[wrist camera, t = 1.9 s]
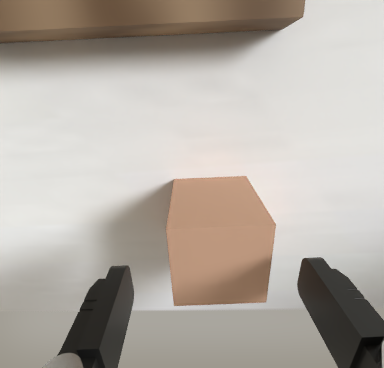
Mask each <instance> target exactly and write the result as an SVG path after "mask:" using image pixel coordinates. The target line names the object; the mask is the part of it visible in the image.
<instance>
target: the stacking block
mask: <svg viewBox="0 0 384 368" xmlns="http://www.w3.org/2000/svg"><path fill="white" fill-rule="evenodd" d="M275 228H276V224H275V222H274V221H273V219H272V217H271V216H270V214H269V213H268V211H267V209H266V208H265V206H264V204H263V203H262V201H261V200H260V198H259V196H258V195H257V193H256V192H255V190H254V188H253V187H252V185H251V183H250V182H249V180H248V179H247V177H246V176H237V177H214V178H190V179H174V182H173V189H172V195H171V201H170V207H169V213H168V220H167V226H166V234H167V243H168V253H169V263H170V272H171V282H172V291H173V301H174V306H186V305H211V304H237V303H262V302H266V299H267V291H268V283H269V276H270V268H271V260H272V252H273V244H274V236H275Z"/></svg>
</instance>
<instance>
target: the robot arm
mask: <svg viewBox="0 0 384 368" xmlns="http://www.w3.org/2000/svg"><path fill="white" fill-rule="evenodd" d="M297 285H298V292H299V295H300V297H301V299H302V301H303V303H304V305H305V306H306V308H307V310H308V312H309V314H310V316H311V318H312V319H313V321H314V323H315V325H316V327H317V329H318V331H319V333H320V334H321V336H322V338H323V340H324V342H325V344H326V346H327V347H328V349H329V351H330V353H331V355H332V357H333V358H334V360H335V362H336V364H337V366H338V368H384V320H383V319H382V318H381V317H380V315H379V314H378V313H377V312H376V311H375V309H374V308H373V307H372V306H371V305H370V303H369V302H368V301H367V300H365V299H364V296H363V295H362V294H361V293H360V291H359V290H357V288H356V287H355V286H354V284H353V283H352V282H351V281H350V280H349V278H348V277H346V276H345V275H344V274H342V273H341V272H339V271H338V270H337V269H331V268H330V267H329V265H328V264H327V263H326V261H325V260H324V259H323V258H320V257H319V258H304V259H303V260H302V263H301V268H300V273H299V278H298V284H297ZM133 300H134V289H133V284H132V278H131V273H130V268H129V266H112V267H111V268H110V270H109V272H108V274H107V277H106V279H98V280H97V281H96V282H95V284H94V285H93V286H92V287H91V288H90V289H89V291H88V293H87V295H86V297H85V299H84V302H83V304H82V306H81V308H80V312H78V314H77V316H76V319H75V321H74V323H73V325H72V327H71V329H70V331H69V333H68V336H67V338H66V340H65V342H64V344H63V346H62V348H61V350H60V352H59V354H58V355H57V356H56V357H54V358H53V359H52V360H50V361H49V362H48V363H46V364H45V365H44V367H43V368H118V363H119V359H120V355H121V351H122V347H123V343H124V339H125V335H126V330H127V326H128V322H129V318H130V314H131V310H132V306H133Z"/></svg>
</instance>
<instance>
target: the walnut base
mask: <svg viewBox="0 0 384 368" xmlns="http://www.w3.org/2000/svg"><path fill="white" fill-rule="evenodd" d="M304 6H305V0H0V43H11V42H32V41H53V40H74V39H94V38H115V37H136V36H157V35H178V34H198V33H219V32H240V31H261V30H282V29H284V28H285V27H287V26H289V25H290V24H292V23H294V22H295V21H297V20H299V19H300V18H302V17H303V14H304Z"/></svg>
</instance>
